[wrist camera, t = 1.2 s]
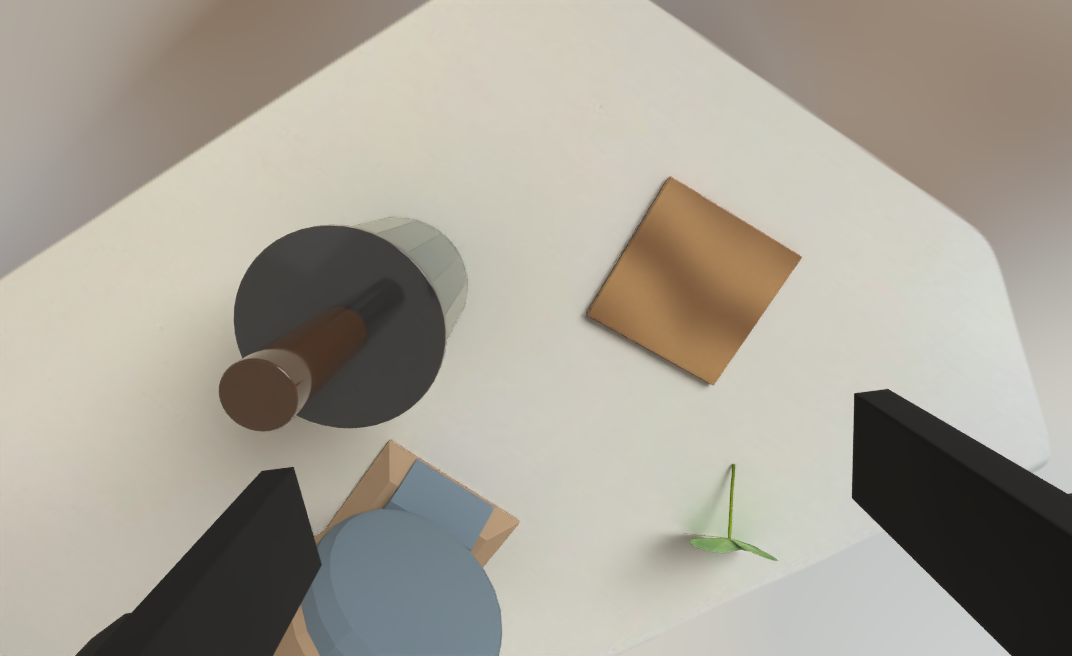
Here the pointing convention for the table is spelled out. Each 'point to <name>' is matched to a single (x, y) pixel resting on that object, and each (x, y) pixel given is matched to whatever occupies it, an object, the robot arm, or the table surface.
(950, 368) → the table surface
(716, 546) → the seedling
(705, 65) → the table surface
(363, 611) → the alarm clock
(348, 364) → the lid
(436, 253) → the jar
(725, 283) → the mat
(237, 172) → the table surface
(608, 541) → the table surface
